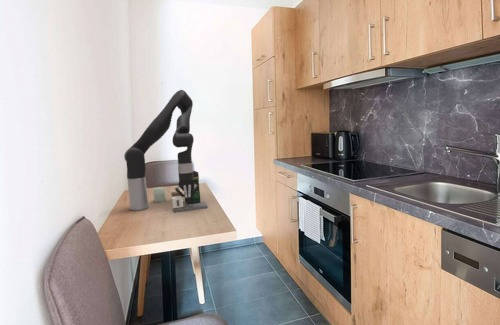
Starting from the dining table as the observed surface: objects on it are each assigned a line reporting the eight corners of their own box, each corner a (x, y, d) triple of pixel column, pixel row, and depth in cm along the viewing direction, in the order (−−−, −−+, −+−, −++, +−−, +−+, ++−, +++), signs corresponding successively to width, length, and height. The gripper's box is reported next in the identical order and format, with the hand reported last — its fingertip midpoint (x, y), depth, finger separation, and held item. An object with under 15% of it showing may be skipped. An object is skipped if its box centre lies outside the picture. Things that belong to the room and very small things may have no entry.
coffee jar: (202, 202, 163) (200, 170, 161) (189, 205, 158) (187, 172, 156) (195, 199, 171) (193, 168, 169) (183, 201, 166) (180, 170, 164)
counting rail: (173, 208, 153) (173, 205, 152) (204, 204, 158) (204, 201, 158) (174, 212, 145) (174, 209, 145) (207, 207, 150) (207, 205, 150)
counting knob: (172, 206, 151) (171, 196, 150) (182, 204, 152) (181, 195, 152) (173, 208, 146) (172, 199, 145) (183, 207, 147) (182, 197, 147)
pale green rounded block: (153, 200, 174) (152, 187, 173) (165, 199, 176) (164, 186, 175) (153, 203, 167) (152, 189, 166) (166, 201, 169) (165, 188, 168)
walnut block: (172, 200, 172) (171, 192, 172) (180, 198, 175) (179, 190, 174) (174, 201, 168) (174, 193, 168) (182, 200, 171) (182, 192, 170)
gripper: (197, 169, 155) (199, 200, 156) (172, 172, 150) (174, 204, 152) (199, 171, 147) (201, 203, 149) (173, 173, 143) (175, 207, 145)
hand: (188, 203), depth 151 cm, fingers closed
